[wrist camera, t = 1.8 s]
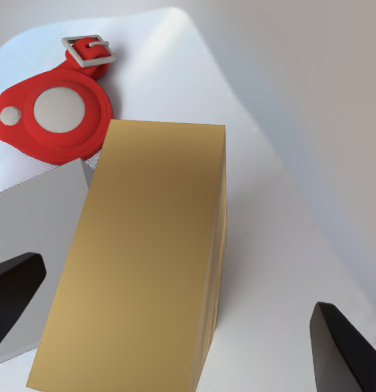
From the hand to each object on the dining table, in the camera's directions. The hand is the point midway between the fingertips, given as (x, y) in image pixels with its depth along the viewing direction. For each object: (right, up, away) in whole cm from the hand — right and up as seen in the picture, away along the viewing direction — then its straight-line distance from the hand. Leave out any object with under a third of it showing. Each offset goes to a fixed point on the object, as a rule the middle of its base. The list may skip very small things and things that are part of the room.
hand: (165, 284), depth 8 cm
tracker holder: (-9, +10, +15) cm, 21 cm away
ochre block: (+1, -2, +8) cm, 9 cm away
